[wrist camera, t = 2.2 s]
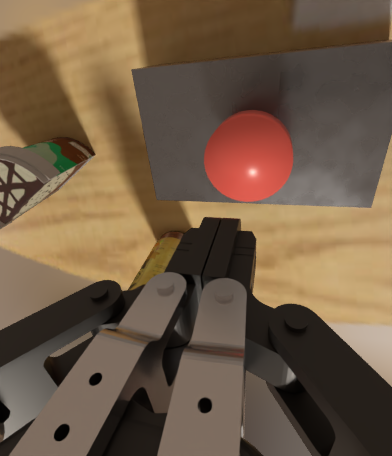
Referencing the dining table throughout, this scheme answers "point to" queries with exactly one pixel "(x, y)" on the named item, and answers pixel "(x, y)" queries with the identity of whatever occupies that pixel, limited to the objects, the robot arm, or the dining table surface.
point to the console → (279, 107)
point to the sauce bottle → (157, 259)
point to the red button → (249, 156)
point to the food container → (37, 173)
